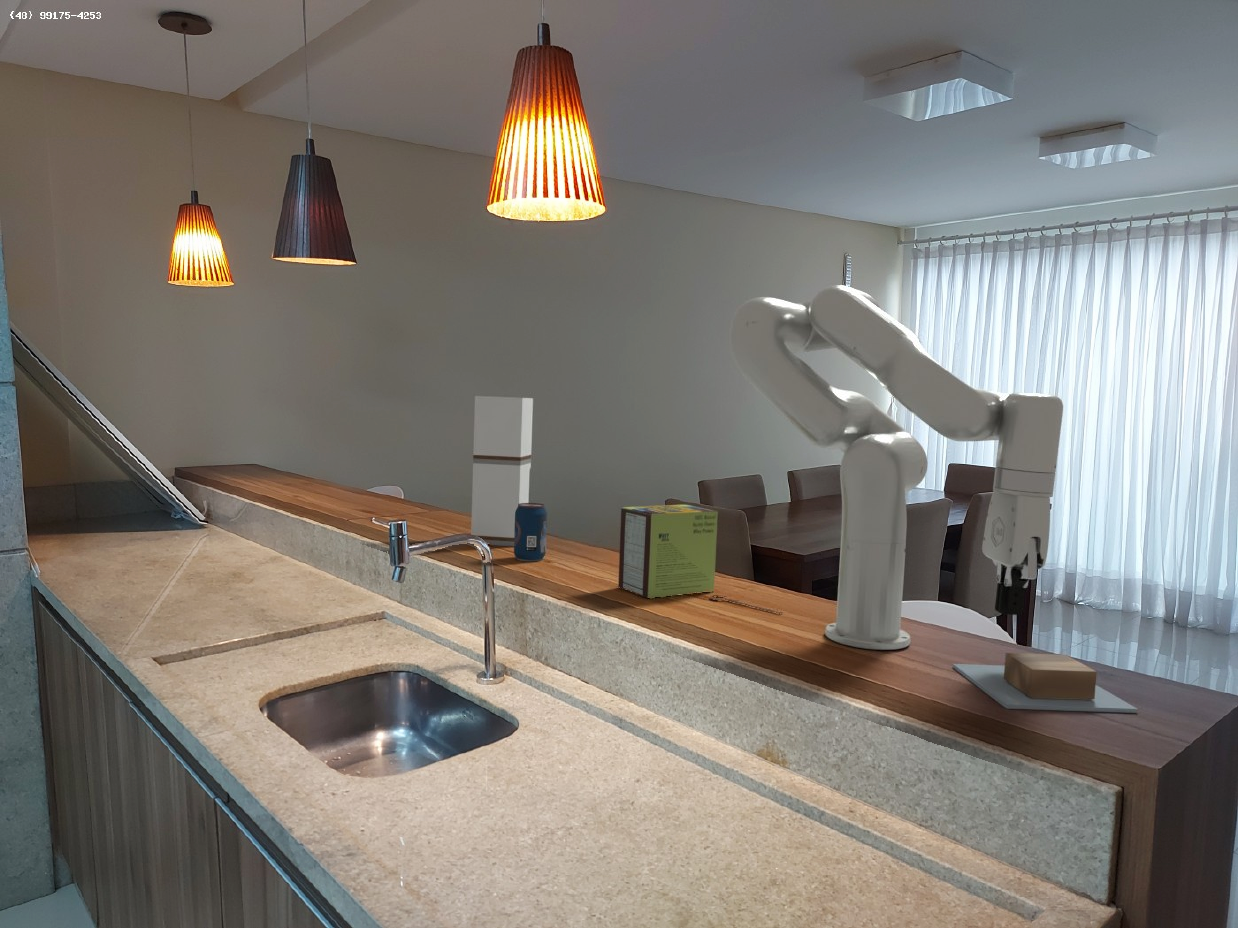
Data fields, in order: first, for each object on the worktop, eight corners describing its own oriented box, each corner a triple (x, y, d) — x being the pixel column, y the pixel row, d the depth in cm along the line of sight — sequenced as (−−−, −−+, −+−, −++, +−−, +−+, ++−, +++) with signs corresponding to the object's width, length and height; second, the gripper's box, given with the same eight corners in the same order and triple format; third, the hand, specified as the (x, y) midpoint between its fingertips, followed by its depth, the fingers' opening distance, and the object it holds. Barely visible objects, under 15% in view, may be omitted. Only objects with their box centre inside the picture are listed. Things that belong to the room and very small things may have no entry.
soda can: (512, 555, 189) (514, 502, 189) (543, 556, 191) (545, 502, 190) (514, 561, 183) (516, 506, 182) (546, 562, 184) (548, 506, 183)
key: (793, 615, 148) (725, 597, 159) (793, 610, 148) (726, 593, 159) (773, 617, 144) (705, 599, 155) (773, 612, 144) (706, 594, 155)
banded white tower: (528, 539, 212) (533, 398, 209) (517, 546, 202) (522, 397, 199) (483, 536, 213) (487, 396, 211) (470, 543, 203) (475, 395, 200)
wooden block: (1005, 652, 112) (1032, 669, 105) (1065, 654, 112) (1096, 671, 105) (1003, 680, 112) (1030, 698, 105) (1063, 682, 113) (1094, 700, 106)
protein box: (715, 592, 161) (719, 510, 160) (647, 599, 153) (651, 513, 152) (682, 581, 170) (685, 503, 169) (616, 587, 162) (619, 506, 160)
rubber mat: (952, 667, 119) (952, 663, 119) (1066, 671, 119) (1066, 667, 119) (1006, 708, 103) (1006, 704, 103) (1137, 712, 103) (1137, 708, 103)
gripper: (973, 475, 125) (960, 597, 127) (1022, 487, 110) (1005, 626, 112) (1024, 478, 125) (1010, 601, 127) (1079, 491, 111) (1062, 630, 112)
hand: (1008, 612), depth 120 cm, fingers closed
